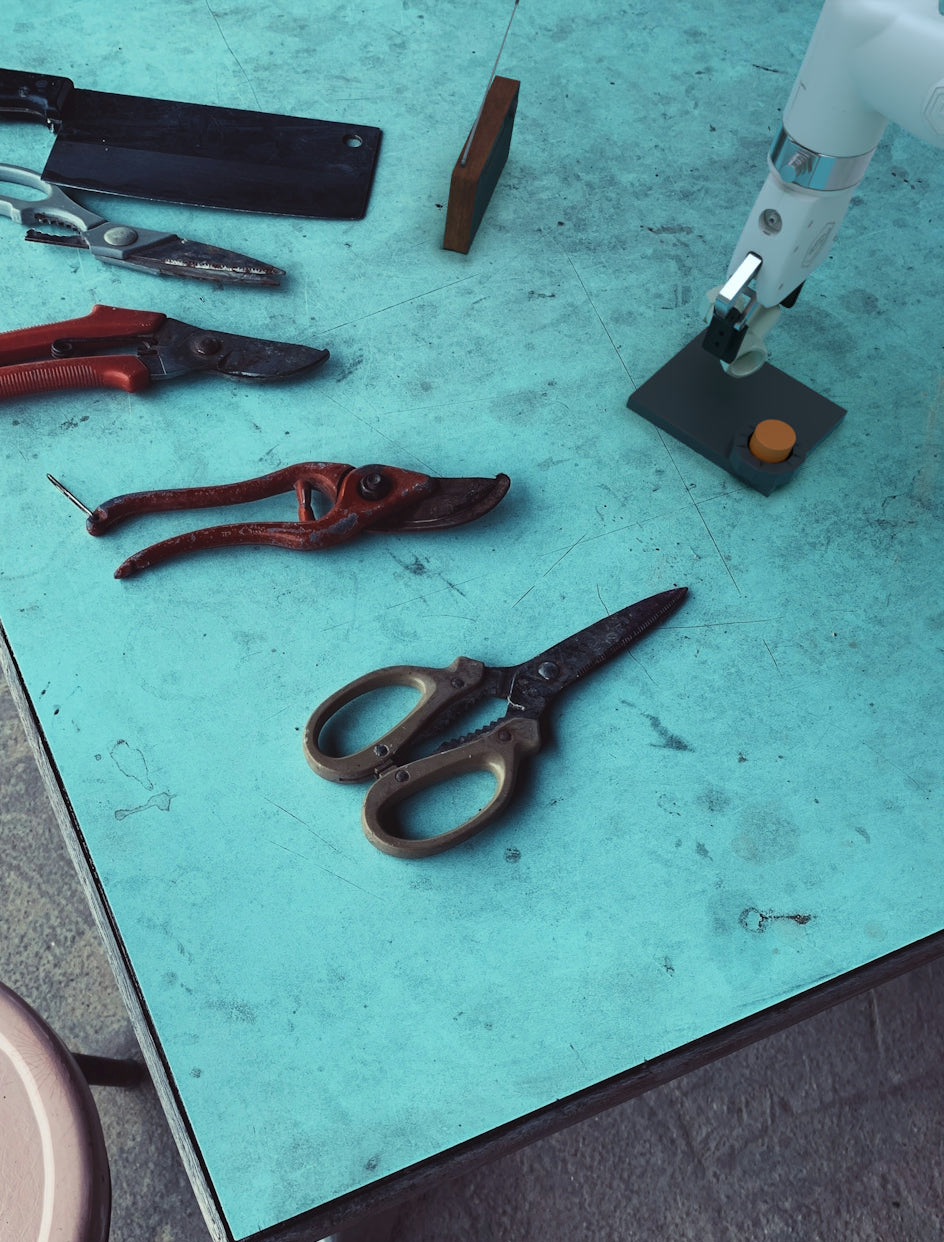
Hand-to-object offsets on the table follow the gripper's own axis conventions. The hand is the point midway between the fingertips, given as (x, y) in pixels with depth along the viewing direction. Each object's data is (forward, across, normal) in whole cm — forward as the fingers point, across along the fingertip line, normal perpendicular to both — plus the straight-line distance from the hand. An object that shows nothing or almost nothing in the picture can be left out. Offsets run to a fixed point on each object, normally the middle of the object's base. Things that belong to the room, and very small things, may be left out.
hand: (747, 326), depth 107 cm
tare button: (+5, -6, -8) cm, 11 cm away
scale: (+8, -2, -3) cm, 8 cm away
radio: (+8, +6, +34) cm, 36 cm away
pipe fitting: (+3, +1, 0) cm, 3 cm away
